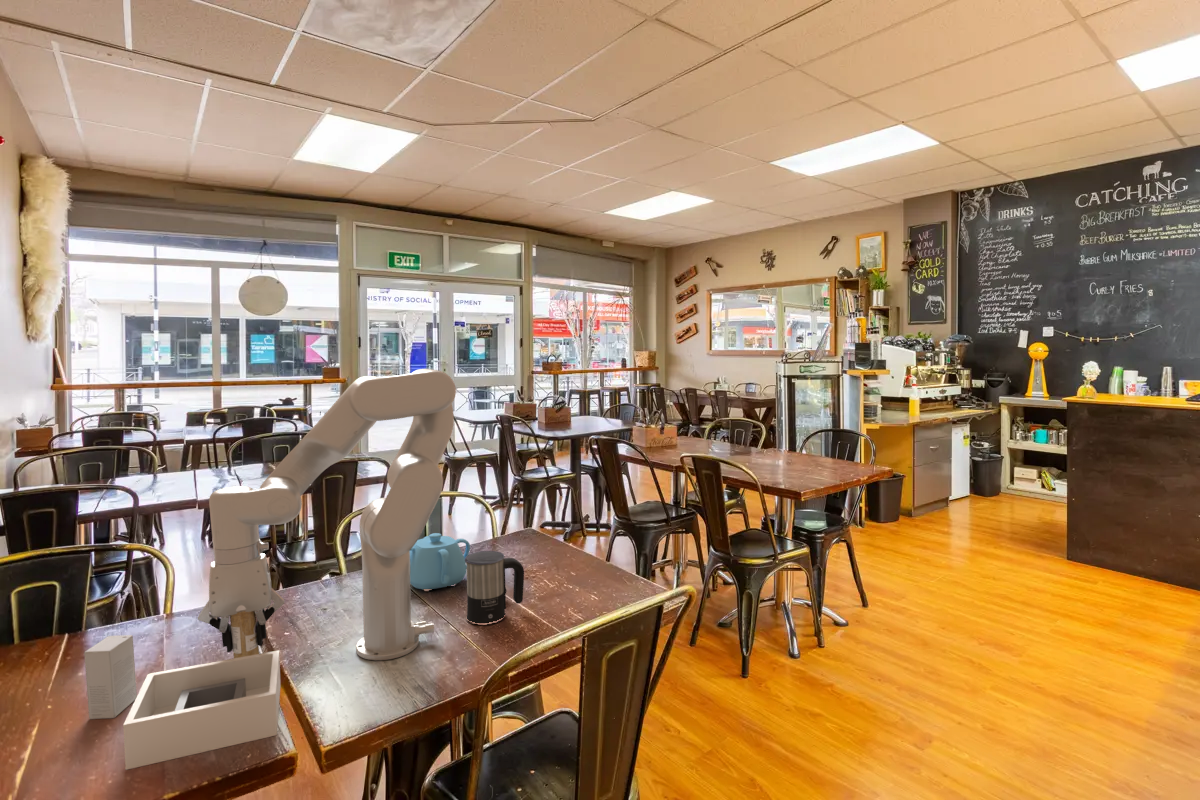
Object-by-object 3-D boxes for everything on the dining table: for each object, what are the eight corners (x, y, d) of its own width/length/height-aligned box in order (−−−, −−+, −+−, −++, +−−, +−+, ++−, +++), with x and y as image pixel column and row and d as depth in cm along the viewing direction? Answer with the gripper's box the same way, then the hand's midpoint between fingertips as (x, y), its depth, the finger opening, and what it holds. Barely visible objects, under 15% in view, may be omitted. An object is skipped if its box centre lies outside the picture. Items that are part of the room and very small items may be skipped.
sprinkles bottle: (261, 665, 117) (256, 597, 116) (233, 673, 115) (227, 603, 114) (259, 655, 121) (254, 589, 120) (232, 662, 119) (226, 595, 117)
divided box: (280, 686, 115) (279, 650, 114) (277, 734, 100) (275, 693, 100) (149, 712, 106) (147, 673, 106) (125, 769, 92) (123, 725, 91)
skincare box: (112, 700, 110) (108, 635, 109) (137, 699, 110) (134, 634, 110) (87, 720, 104) (83, 651, 103) (113, 719, 104) (110, 650, 103)
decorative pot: (429, 570, 177) (428, 523, 176) (477, 577, 171) (477, 529, 170) (391, 590, 162) (390, 539, 160) (443, 599, 156) (442, 546, 155)
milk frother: (478, 630, 139) (477, 566, 138) (445, 608, 150) (444, 548, 149) (530, 613, 148) (530, 552, 147) (495, 593, 160) (495, 537, 159)
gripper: (288, 540, 123) (294, 628, 125) (187, 554, 116) (196, 647, 117) (287, 551, 116) (294, 644, 118) (180, 567, 109) (189, 666, 111)
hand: (245, 644), depth 118 cm, fingers closed on sprinkles bottle, 4 cm apart
